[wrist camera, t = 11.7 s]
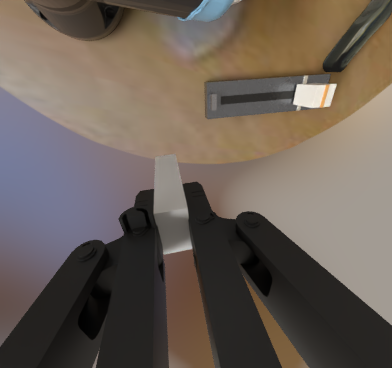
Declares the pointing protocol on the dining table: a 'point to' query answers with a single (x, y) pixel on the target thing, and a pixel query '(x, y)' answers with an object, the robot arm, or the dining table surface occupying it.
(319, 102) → the fader
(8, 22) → the dining table surface
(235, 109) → the grey slider track
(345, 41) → the mobile phone
